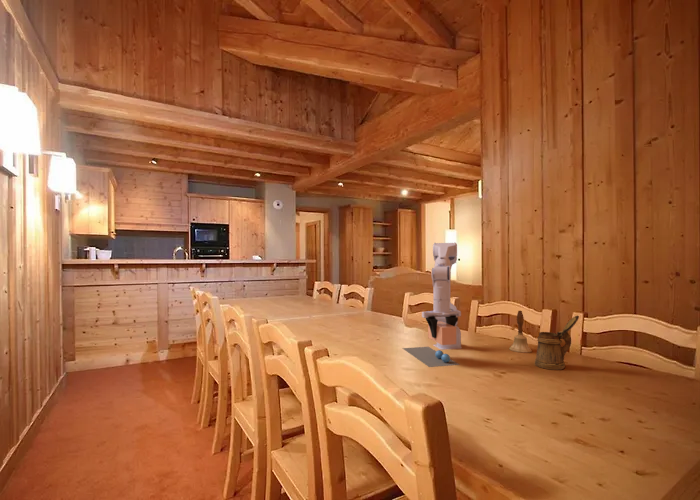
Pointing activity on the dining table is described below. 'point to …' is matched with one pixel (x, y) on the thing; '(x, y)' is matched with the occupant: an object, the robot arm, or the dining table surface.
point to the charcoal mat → (428, 356)
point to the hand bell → (520, 337)
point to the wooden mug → (553, 347)
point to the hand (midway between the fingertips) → (441, 336)
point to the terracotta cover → (444, 334)
